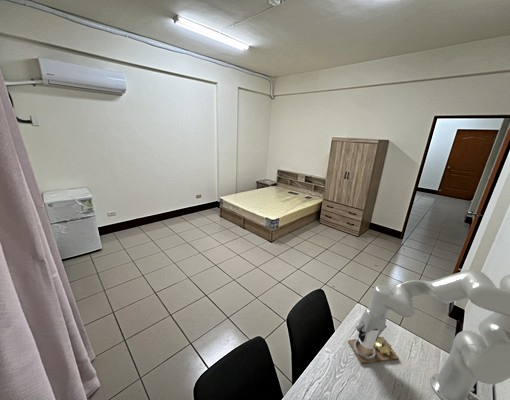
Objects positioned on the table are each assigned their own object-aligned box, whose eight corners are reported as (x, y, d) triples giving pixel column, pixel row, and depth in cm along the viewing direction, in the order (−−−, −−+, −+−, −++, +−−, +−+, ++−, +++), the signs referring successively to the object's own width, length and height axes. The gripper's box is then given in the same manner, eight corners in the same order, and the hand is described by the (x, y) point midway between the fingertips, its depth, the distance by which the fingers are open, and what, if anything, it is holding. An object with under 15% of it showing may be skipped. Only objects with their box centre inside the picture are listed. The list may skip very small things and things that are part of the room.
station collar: (366, 339, 111) (367, 337, 111) (379, 358, 102) (379, 356, 102) (349, 341, 109) (350, 339, 109) (361, 360, 100) (361, 358, 100)
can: (369, 337, 107) (376, 320, 103) (375, 350, 101) (382, 332, 97) (356, 336, 108) (362, 318, 104) (361, 348, 101) (367, 330, 97)
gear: (383, 338, 112) (385, 332, 111) (396, 355, 104) (398, 349, 102) (368, 340, 111) (370, 333, 109) (380, 357, 103) (382, 350, 101)
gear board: (382, 338, 114) (383, 336, 113) (398, 359, 104) (399, 357, 103) (348, 342, 111) (348, 340, 110) (360, 364, 100) (361, 362, 100)
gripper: (388, 303, 102) (377, 330, 108) (355, 305, 99) (346, 333, 105) (400, 316, 95) (388, 344, 101) (365, 319, 92) (355, 348, 98)
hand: (367, 338), depth 103 cm, fingers closed on can, 6 cm apart
